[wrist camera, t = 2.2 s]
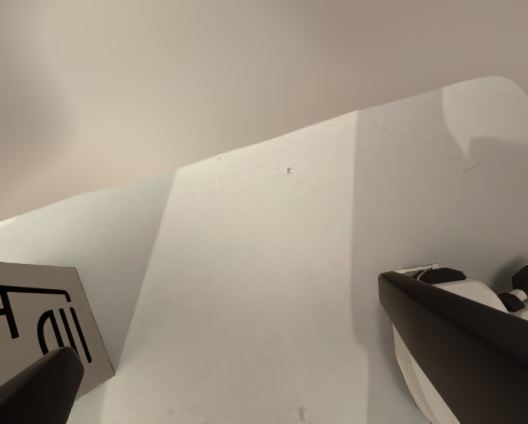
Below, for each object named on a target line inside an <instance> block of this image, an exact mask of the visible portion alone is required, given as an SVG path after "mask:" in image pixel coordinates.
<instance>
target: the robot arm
mask: <svg viewBox="0 0 528 424" xmlns="http://www.w3.org/2000/svg"><path fill="white" fill-rule="evenodd" d="M378 285H379V299H380V302H381V304H382V306H383V308H384V310H385V311H386V313H387V315H388V316H389V318H390V320H391V322H392V323H393V325H394V327H395V328H396V330H397V332H398V334H399V335H400V337H401V339H402V340H403V342H404V344H405V346H406V347H407V349H408V351H409V352H410V354H411V355H412V357H413V358H414V360H415V361H416V363H417V364H418V366H419V367H420V368H421V370H422V371H423V373H424V374H425V375H426V377H427V378H428V380H429V381H430V382H431V384H432V385H433V387H434V388H435V389H436V391H437V392H438V393H439V395H440V396H441V398H442V399H443V400H444V402H445V403H446V405H447V406H448V407H449V409H450V410H451V412H452V413H453V414H454V416H455V417H456V419H457V420H458V421H459V423H460V424H528V320H525V319H523V318H520V317H517V316H515V315H512V314H509V313H506V312H504V311H501V310H498V309H496V308H493V307H490V306H487V305H485V304H482V303H479V302H477V301H474V300H471V299H468V298H466V297H463V296H460V295H458V294H455V293H452V292H449V291H447V290H444V289H441V288H439V287H436V286H433V285H430V284H428V283H425V282H422V281H420V280H417V279H414V278H412V277H409V276H406V275H403V274H401V273H398V272H395V271H389V272H385V273H381V274H380V275H379V277H378ZM84 372H85V370H84V365H83V363H82V362H81V360H80V358H79V357H78V355H77V354H76V352H75V350H74V349H73V348H72V347H70V346H65V347H61V348H56V349H53V350H51V351H50V352H48V353H47V354H45V355H44V356H43V357H41V358H40V359H38V360H37V361H36V362H34V363H33V364H31V365H30V366H28V367H27V368H26V369H24V370H23V371H21V372H20V373H19V374H17V375H16V376H14V377H13V378H11V379H10V380H9V381H7V382H6V383H4V384H3V385H1V386H0V424H66V422H67V420H68V417H69V414H70V412H71V409H72V406H73V403H74V401H75V398H76V395H77V393H78V390H79V387H80V384H81V382H82V379H83V376H84Z"/></svg>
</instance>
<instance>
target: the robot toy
mask: <svg viewBox="0 0 528 424" xmlns="http://www.w3.org/2000/svg"><path fill="white" fill-rule="evenodd" d="M423 269H427V270H423ZM416 270H422V271H420V272H418V273H416V274H415V275H413V276H412V278H414V279H417V280H420V281H422V282H425V283H428V284H430V285H433V286H436V287H439V288H441V289H444V290H447V291H449V292H452V293H455V294H458V295H460V296H463V297H466V298H468V299H471V300H474V301H477V302H479V303H482V304H485V305H487V306H490V307H493V308H496V309H498V310H501V311H504V312H506V313H509V314H512V315H515V316H517V317H520V318H523V319H525V320H528V299H526V298H528V265H526V266H524V267H523V268H522V269H521V270H520V271H518V272H517V273H516V274H515V275H514V276H513V277H512V285H513V291H512V292H510V293H500V294H498V295H496V294H495V293H494V292H493V291H492V290H491V289H490V288H489V287H488V286H487V285H486V284H484V283H483V282H481V281H477V280H474V279H471V278H467V277H466V276H465V275H464V273H463V272H462V271H458V270H454V269H450V268H439V266H438V264H431V265H426V266H425V267H418V268H411V269H400V270H395V272H398V273H406V272H409V271H416ZM393 333H394V342H395V351H396V358H397V360H398V363H399V365H400V368H401V371H402V373H403V376H404V378H405V381H406V383H407V386H408V389H409V391H410V392H411V394H412V396H413V398H414V400H415V402H416V404H417V406H418V407H419V409H420V411H421V412H422V413H423V414H424V416H425V417H426V418H427V419H428V420H429V421H430V422H431V423H432V424H460V423H459V421H458V420H457V419H456V417H455V416H454V414H453V413H452V412H451V410H450V409H449V407H448V406H447V405H446V403H445V402H444V400H443V399H442V398H441V396H440V395H439V393H438V392H437V391H436V389H435V388H434V387H433V385H432V384H431V382H430V381H429V380H428V378H427V377H426V375H425V374H424V373H423V371H422V370H421V368H420V367H419V366H418V364H417V363H416V361H415V360H414V358H413V357H412V355H411V354H410V352H409V351H408V349H407V347H406V346H405V344H404V342H403V340H402V339H401V337H400V335H399V334H398V332H397V330H396V328H395V327H394V325H393Z"/></svg>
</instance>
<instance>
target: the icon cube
mask: <svg viewBox="0 0 528 424" xmlns="http://www.w3.org/2000/svg"><path fill="white" fill-rule="evenodd" d="M65 346H70V347H72V348H73V349H74V350H75V352H76V354H77V355H78V357H79V358H80V360H81V362H82V363H83V365H84V370H85V372H84V376H83V379H82V382H81V384H80V387H79V390H78V393H77V395H76V398H75V400H77V399H78V398H80V397H81V396H83V395H85V394H86V393H88V392H89V391H91V390H93V389H94V388H96V387H97V386H99V385H100V384H102V383H104V382H105V381H107V380H108V379H110V378H112V377H113V376H115V375H114V372H113V369H112V366H111V364H110V361H109V358H108V356H107V353H106V350H105V348H104V345H103V342H102V339H101V337H100V334H99V331H98V329H97V326H96V323H95V320H94V318H93V315H92V312H91V310H90V307H89V304H88V301H87V299H86V296H85V293H84V291H83V288H82V285H81V282H80V280H79V277H78V274H77V272H76V269H75V268H71V267H57V266H44V265H31V264H18V263H4V262H0V386H1V385H3V384H4V383H6V382H7V381H9V380H10V379H11V378H13V377H14V376H16V375H17V374H19V373H20V372H21V371H23V370H24V369H26V368H27V367H28V366H30V365H31V364H33V363H34V362H36V361H37V360H38V359H40V358H41V357H43V356H44V355H45V354H47V353H48V352H50V351H51V350H53V349H56V348H61V347H65Z"/></svg>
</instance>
